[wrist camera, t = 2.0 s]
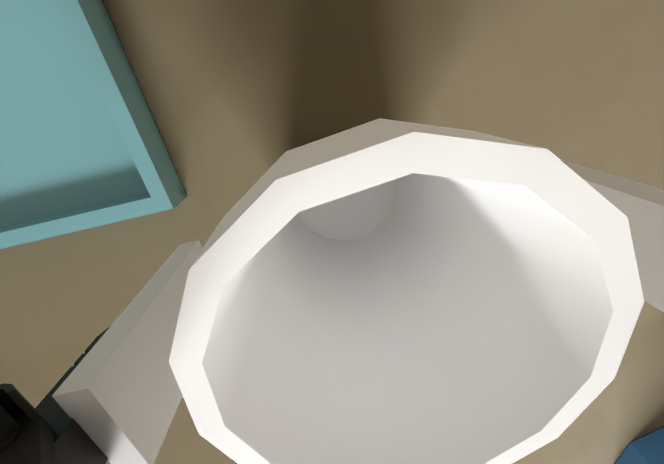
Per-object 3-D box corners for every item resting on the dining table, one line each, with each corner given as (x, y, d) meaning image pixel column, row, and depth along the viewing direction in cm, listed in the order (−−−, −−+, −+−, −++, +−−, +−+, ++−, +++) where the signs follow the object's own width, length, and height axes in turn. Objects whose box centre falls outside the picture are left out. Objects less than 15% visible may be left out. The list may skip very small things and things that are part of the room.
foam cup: (246, 110, 16) (86, 168, 4) (424, 92, 16) (722, 97, 5) (277, 269, 20) (236, 523, 8) (420, 251, 20) (577, 474, 9)
